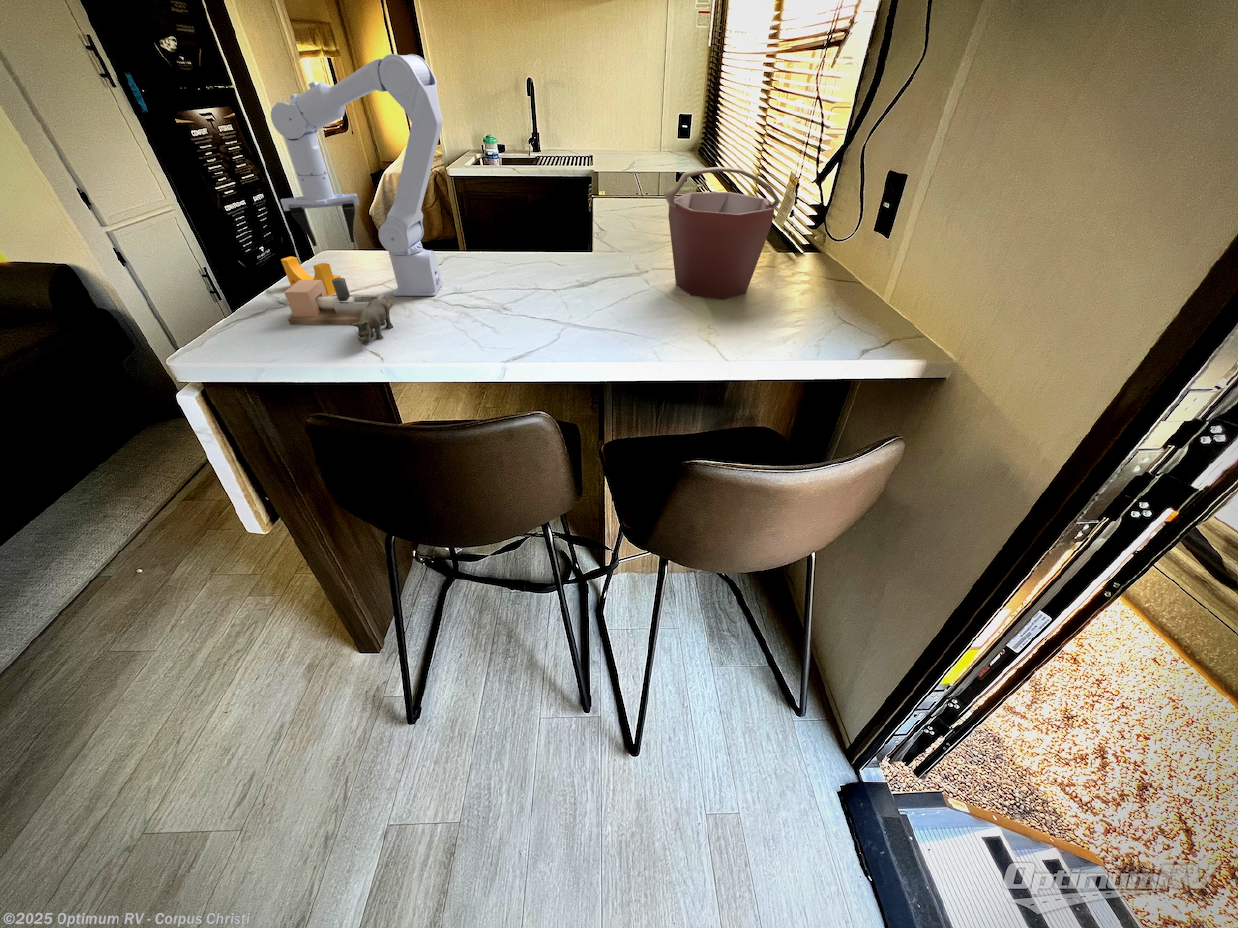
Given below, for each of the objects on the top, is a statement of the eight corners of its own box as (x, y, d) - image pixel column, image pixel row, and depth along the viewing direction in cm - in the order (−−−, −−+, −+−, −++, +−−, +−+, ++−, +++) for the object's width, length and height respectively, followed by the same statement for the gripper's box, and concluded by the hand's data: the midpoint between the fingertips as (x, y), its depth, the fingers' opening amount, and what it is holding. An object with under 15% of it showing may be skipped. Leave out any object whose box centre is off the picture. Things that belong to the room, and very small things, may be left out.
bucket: (650, 295, 119) (657, 173, 103) (671, 266, 135) (680, 157, 120) (758, 308, 113) (782, 181, 98) (766, 276, 130) (787, 164, 114)
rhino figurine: (350, 353, 94) (339, 322, 90) (377, 323, 105) (369, 294, 101) (373, 353, 94) (363, 322, 90) (397, 323, 105) (390, 294, 101)
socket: (330, 303, 109) (321, 280, 106) (316, 316, 104) (307, 292, 101) (308, 303, 109) (299, 280, 106) (293, 316, 104) (284, 292, 101)
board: (392, 305, 112) (391, 300, 111) (377, 323, 104) (376, 319, 103) (310, 305, 111) (309, 300, 110) (289, 324, 103) (287, 319, 103)
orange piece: (344, 290, 119) (335, 261, 115) (329, 296, 116) (319, 267, 112) (307, 282, 123) (297, 254, 119) (291, 288, 120) (280, 259, 116)
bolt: (356, 306, 108) (347, 277, 104) (352, 310, 106) (343, 282, 102) (312, 306, 107) (302, 277, 104) (307, 310, 106) (297, 282, 102)
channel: (386, 305, 109) (383, 295, 108) (379, 313, 105) (376, 303, 104) (344, 305, 109) (341, 295, 107) (336, 314, 105) (332, 303, 104)
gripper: (271, 179, 100) (297, 251, 108) (351, 174, 105) (370, 244, 113) (272, 173, 105) (297, 243, 113) (349, 169, 110) (367, 236, 118)
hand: (334, 243), depth 113 cm, fingers open, 7 cm apart
